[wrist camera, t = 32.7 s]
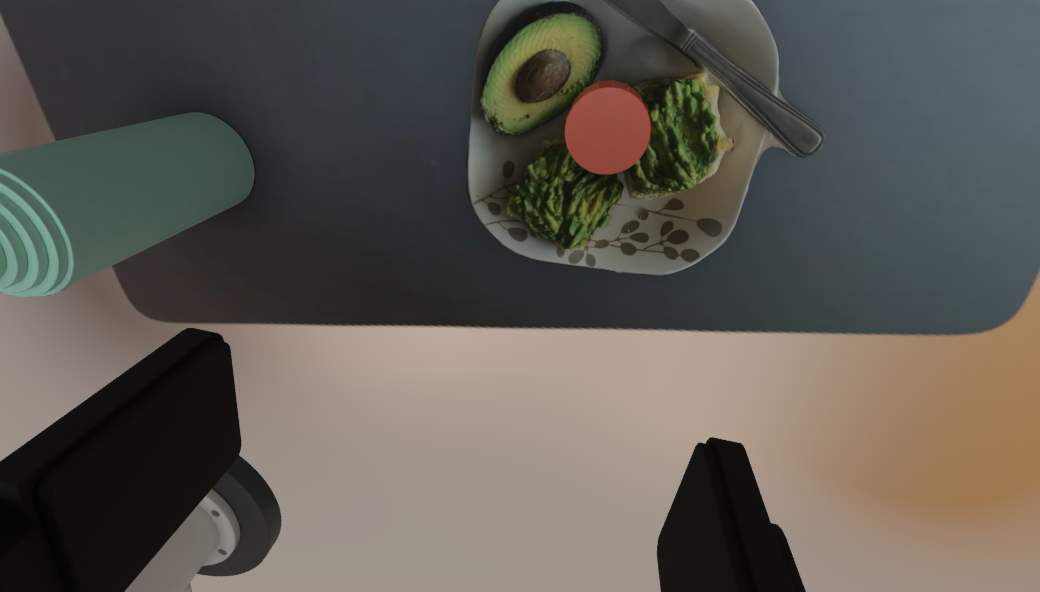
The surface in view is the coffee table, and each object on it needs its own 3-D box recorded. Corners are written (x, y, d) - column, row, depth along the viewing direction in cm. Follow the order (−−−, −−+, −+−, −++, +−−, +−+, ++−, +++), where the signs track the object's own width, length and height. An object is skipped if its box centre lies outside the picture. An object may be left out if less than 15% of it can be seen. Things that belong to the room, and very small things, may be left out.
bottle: (258, 214, 37) (-24, 370, 21) (173, 197, 38) (-172, 335, 21) (251, 121, 34) (-87, 215, 18) (158, 103, 35) (-259, 179, 18)
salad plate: (875, -29, 26) (924, -39, 22) (754, 290, 35) (773, 326, 31) (490, -81, 28) (470, -99, 24) (463, 238, 36) (445, 266, 32)
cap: (580, 69, 26) (577, 75, 23) (659, 91, 26) (665, 99, 23) (559, 148, 28) (553, 162, 25) (632, 168, 28) (635, 185, 25)
